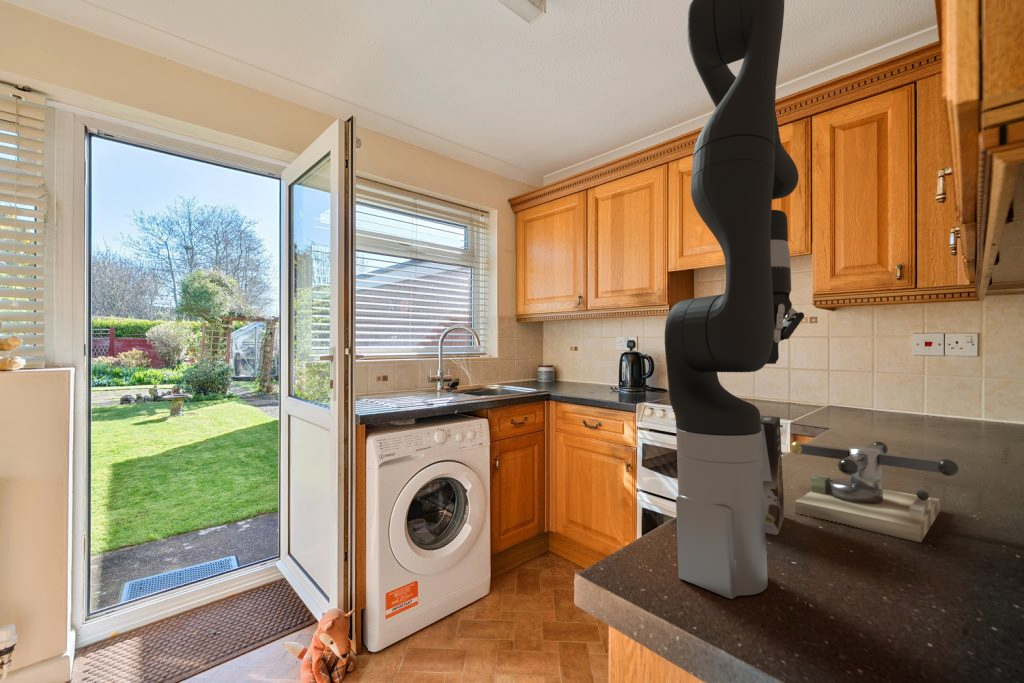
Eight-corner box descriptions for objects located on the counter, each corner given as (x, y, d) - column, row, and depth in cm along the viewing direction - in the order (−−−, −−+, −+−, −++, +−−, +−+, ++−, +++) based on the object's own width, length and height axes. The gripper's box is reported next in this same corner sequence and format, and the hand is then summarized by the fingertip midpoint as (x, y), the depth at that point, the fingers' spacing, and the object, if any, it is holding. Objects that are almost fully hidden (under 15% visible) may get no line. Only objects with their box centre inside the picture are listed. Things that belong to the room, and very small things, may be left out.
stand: (920, 542, 59) (919, 509, 59) (795, 513, 70) (794, 486, 71) (939, 511, 70) (938, 483, 70) (829, 490, 82) (828, 467, 82)
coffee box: (780, 536, 62) (775, 423, 62) (730, 526, 66) (726, 420, 66) (786, 517, 69) (781, 415, 70) (741, 509, 73) (737, 413, 74)
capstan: (970, 498, 69) (967, 449, 69) (951, 535, 55) (947, 474, 56) (812, 472, 86) (810, 433, 86) (768, 496, 72) (766, 449, 72)
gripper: (744, 263, 75) (747, 363, 74) (816, 265, 76) (819, 364, 75) (720, 272, 82) (722, 363, 81) (785, 274, 83) (788, 364, 82)
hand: (768, 363), depth 78 cm, fingers closed
